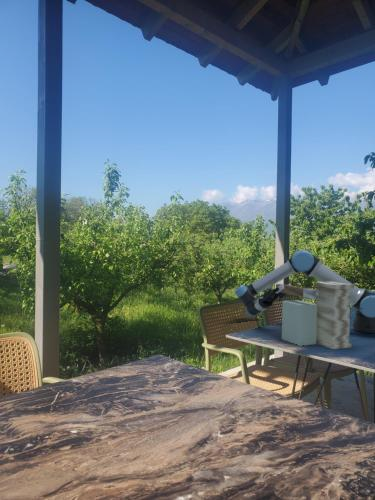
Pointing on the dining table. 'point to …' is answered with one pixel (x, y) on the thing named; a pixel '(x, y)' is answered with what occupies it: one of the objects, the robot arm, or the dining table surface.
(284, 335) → the block
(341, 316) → the tall stand
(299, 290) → the brown grey bar
